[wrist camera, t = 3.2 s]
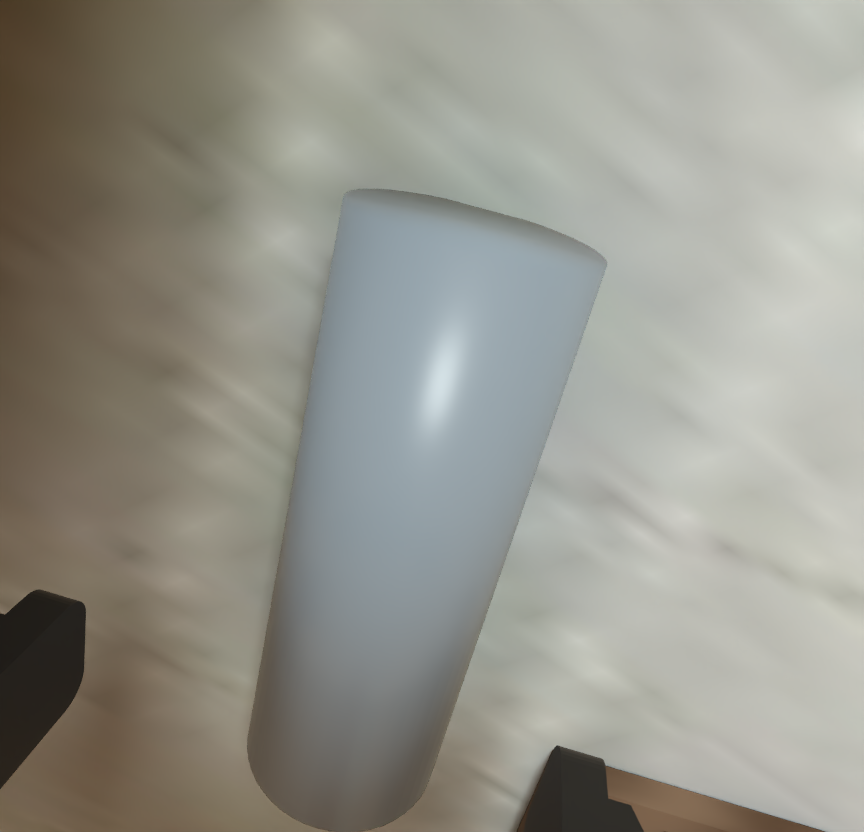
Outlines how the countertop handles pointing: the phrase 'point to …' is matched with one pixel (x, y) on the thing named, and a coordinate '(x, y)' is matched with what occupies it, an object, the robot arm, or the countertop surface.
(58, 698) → the robot arm
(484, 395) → the cylinder
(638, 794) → the walnut holder
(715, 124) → the countertop surface
